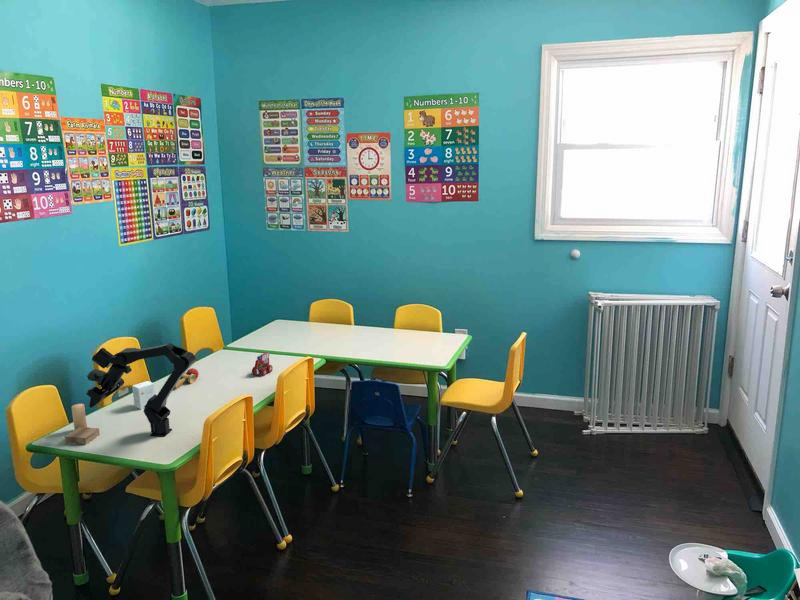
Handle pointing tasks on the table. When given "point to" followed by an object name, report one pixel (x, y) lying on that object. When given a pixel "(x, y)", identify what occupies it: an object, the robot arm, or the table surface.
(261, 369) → the toy fire truck
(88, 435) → the base slab
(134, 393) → the small box
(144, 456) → the table surface
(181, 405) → the table surface
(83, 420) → the cylinder block
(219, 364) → the table surface
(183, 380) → the kendama
